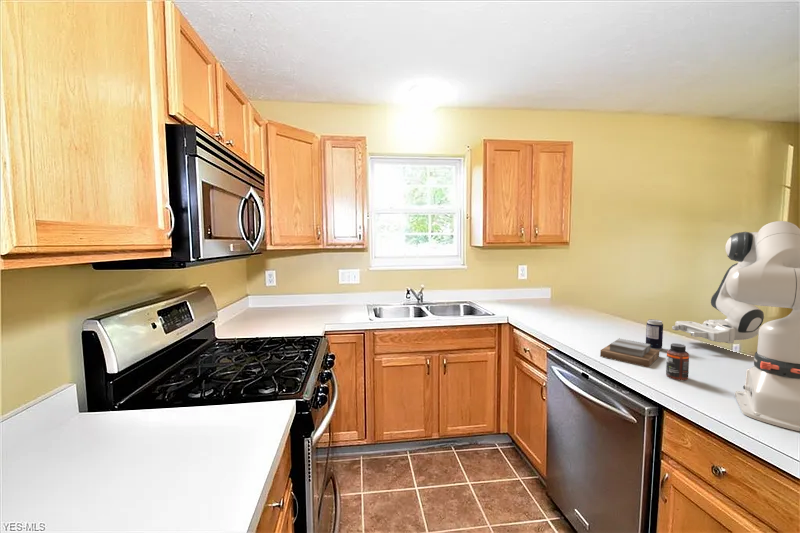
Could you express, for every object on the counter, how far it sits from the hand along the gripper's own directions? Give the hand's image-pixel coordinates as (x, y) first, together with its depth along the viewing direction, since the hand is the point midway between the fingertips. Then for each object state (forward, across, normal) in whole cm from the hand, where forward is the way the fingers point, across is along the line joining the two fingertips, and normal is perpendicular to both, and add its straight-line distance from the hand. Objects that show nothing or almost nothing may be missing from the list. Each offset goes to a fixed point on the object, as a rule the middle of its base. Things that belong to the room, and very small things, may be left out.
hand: (682, 331), depth 147 cm
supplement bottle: (+27, +29, +7) cm, 40 cm away
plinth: (+28, +9, +7) cm, 31 cm away
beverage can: (+12, 0, +7) cm, 14 cm away
